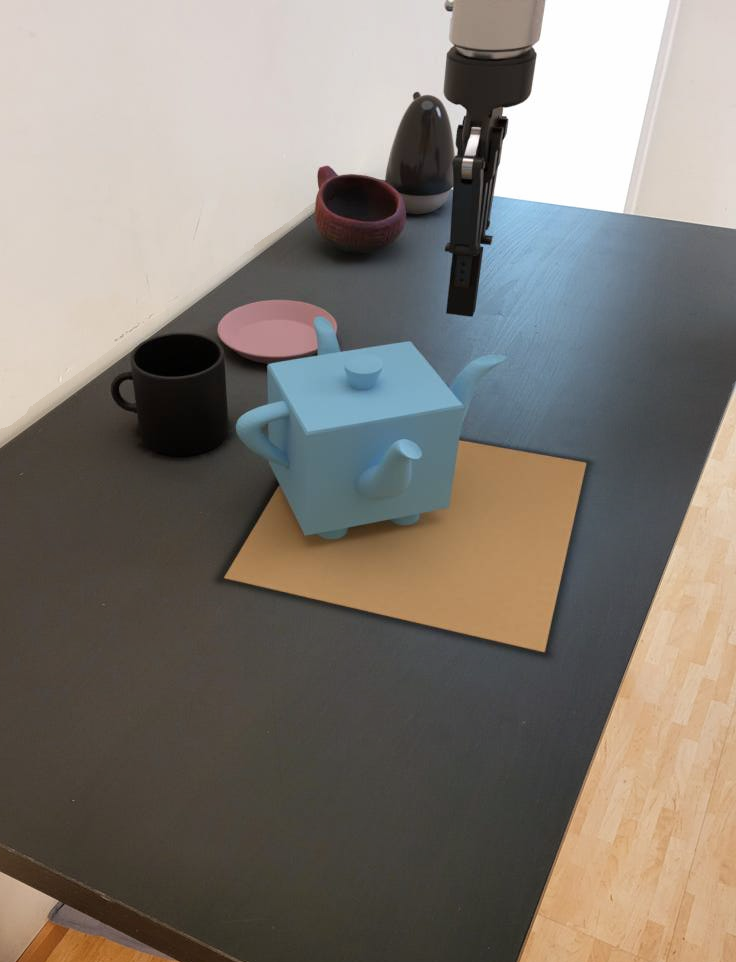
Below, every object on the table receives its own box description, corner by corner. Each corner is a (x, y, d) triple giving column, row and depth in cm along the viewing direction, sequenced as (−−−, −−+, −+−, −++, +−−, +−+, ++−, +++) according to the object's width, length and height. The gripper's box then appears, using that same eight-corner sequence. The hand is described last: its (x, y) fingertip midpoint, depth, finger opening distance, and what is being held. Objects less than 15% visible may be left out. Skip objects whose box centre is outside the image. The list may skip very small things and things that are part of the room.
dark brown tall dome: (439, 192, 146) (450, 82, 135) (460, 217, 138) (474, 103, 128) (375, 198, 145) (382, 87, 134) (393, 223, 137) (402, 109, 127)
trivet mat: (586, 464, 94) (586, 462, 94) (544, 653, 76) (544, 652, 76) (320, 417, 101) (320, 415, 101) (223, 579, 83) (223, 577, 83)
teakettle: (226, 525, 88) (217, 386, 78) (315, 427, 100) (318, 294, 89) (413, 588, 81) (430, 444, 71) (486, 475, 93) (510, 337, 82)
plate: (360, 347, 112) (361, 331, 110) (262, 385, 106) (262, 368, 105) (290, 304, 120) (290, 289, 119) (195, 337, 114) (194, 321, 113)
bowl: (420, 240, 133) (426, 181, 127) (375, 273, 126) (379, 212, 120) (324, 218, 140) (325, 160, 134) (276, 248, 132) (275, 189, 127)
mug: (125, 407, 104) (114, 330, 97) (233, 409, 103) (229, 332, 96) (108, 455, 97) (95, 376, 90) (223, 458, 96) (218, 379, 89)
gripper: (463, 25, 84) (438, 280, 101) (430, 65, 76) (409, 336, 93) (548, 28, 82) (508, 288, 99) (524, 70, 74) (485, 346, 91)
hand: (460, 311), depth 96 cm, fingers closed
